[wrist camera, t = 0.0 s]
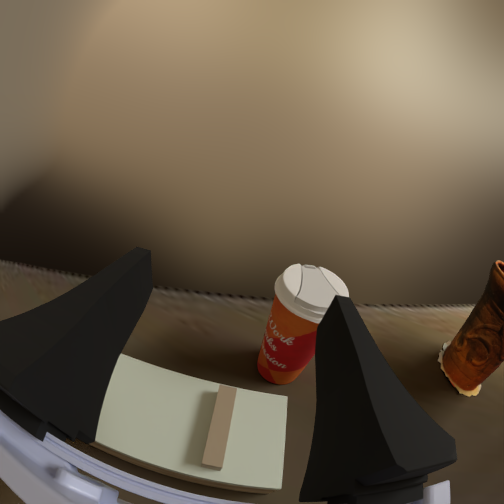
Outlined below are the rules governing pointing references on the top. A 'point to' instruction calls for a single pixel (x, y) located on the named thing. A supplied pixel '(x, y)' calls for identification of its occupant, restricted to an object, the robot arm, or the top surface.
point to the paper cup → (296, 320)
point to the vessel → (478, 339)
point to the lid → (194, 425)
